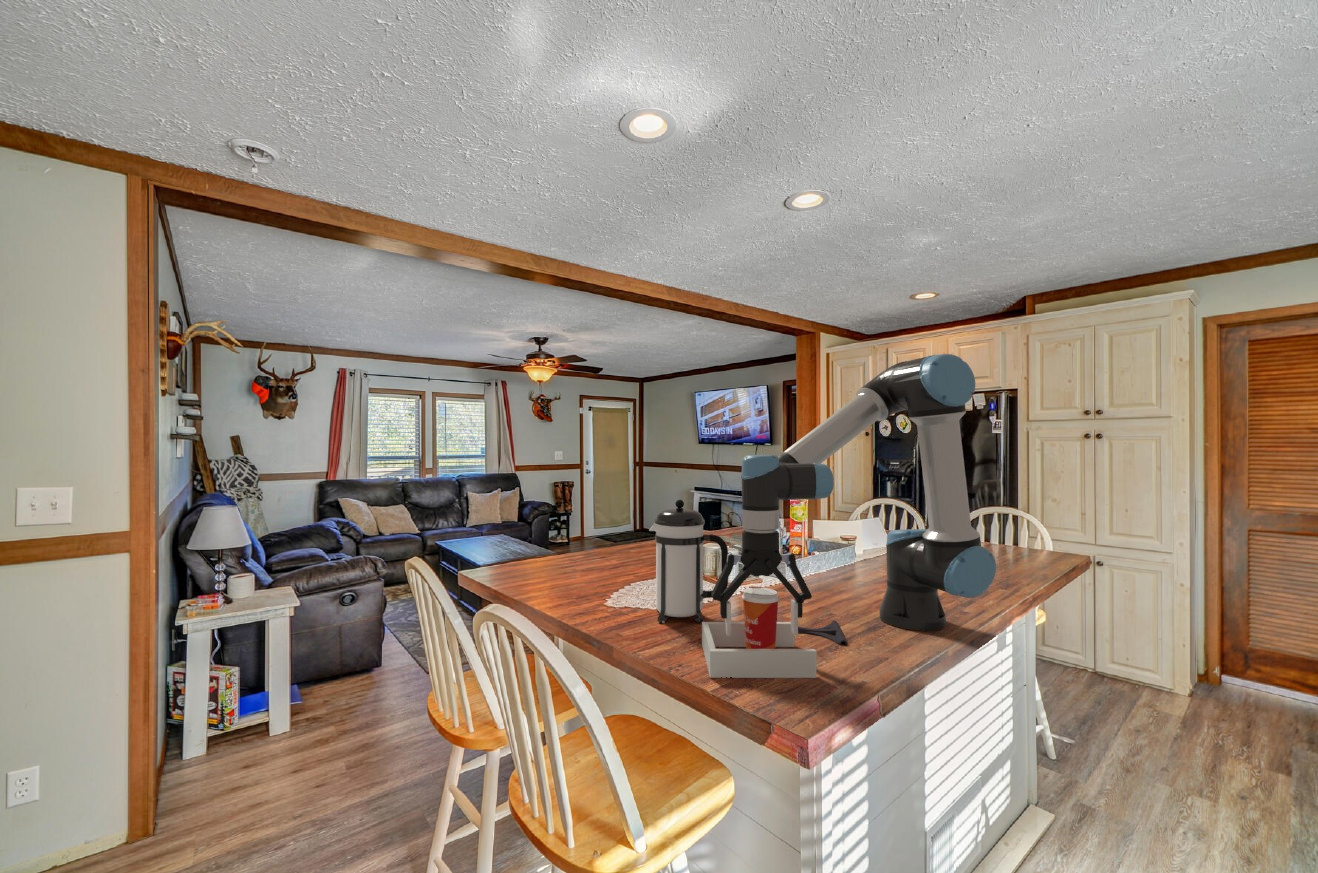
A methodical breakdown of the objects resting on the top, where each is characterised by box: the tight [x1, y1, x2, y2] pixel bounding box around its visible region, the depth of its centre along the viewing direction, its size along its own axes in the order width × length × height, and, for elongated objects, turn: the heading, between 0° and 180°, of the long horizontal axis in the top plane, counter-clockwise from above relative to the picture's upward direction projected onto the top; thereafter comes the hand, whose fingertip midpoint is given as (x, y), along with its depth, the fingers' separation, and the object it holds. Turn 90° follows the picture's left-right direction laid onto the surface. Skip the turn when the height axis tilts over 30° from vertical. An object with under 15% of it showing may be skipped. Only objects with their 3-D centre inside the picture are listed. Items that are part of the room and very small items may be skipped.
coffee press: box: [648, 499, 729, 624], centre depth 143 cm, size 17×16×30 cm
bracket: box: [781, 620, 848, 646], centre depth 131 cm, size 14×15×3 cm
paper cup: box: [741, 587, 780, 649], centre depth 114 cm, size 8×8×14 cm
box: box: [701, 621, 817, 679], centre depth 114 cm, size 20×17×5 cm
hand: (761, 633), depth 114 cm, fingers open, 13 cm apart
